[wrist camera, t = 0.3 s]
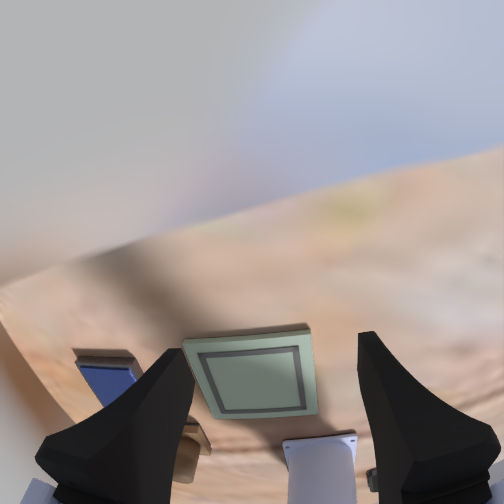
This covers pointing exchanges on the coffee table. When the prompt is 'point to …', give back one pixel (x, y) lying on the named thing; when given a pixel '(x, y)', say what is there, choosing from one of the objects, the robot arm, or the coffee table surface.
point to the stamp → (190, 452)
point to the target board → (256, 374)
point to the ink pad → (109, 375)
